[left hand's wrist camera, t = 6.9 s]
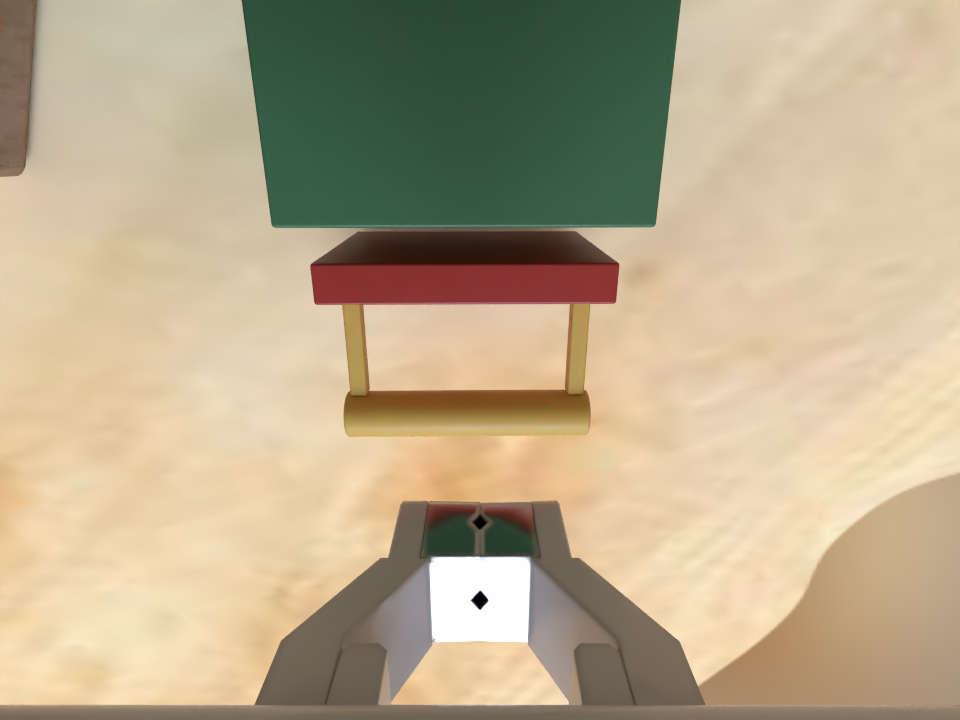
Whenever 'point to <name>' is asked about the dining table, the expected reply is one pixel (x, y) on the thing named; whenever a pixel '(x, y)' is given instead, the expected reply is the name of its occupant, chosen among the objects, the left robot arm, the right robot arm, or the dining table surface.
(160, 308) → the dining table surface
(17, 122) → the wooden block
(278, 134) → the cabinet
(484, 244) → the drawer
